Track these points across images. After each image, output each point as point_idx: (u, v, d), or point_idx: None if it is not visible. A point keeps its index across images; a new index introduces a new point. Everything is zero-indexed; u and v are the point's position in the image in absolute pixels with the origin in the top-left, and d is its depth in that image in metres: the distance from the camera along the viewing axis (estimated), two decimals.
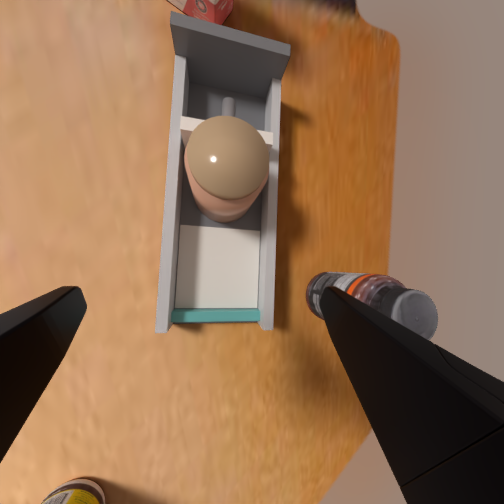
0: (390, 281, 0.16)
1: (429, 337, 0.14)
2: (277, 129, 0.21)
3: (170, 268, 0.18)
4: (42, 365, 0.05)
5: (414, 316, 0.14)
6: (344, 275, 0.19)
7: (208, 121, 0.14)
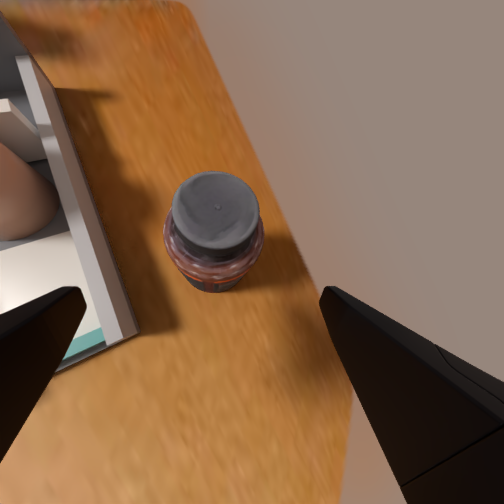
0: None
1: (251, 224, 0.09)
2: (40, 103, 0.17)
3: None
4: (42, 365, 0.05)
5: (210, 205, 0.09)
6: None
7: None
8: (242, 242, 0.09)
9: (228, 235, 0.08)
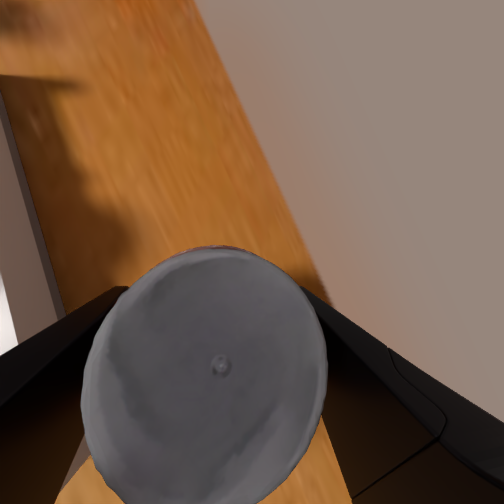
0: None
1: (312, 408, 0.03)
2: None
3: None
4: None
5: (200, 362, 0.03)
6: None
7: None
8: None
9: (252, 467, 0.03)
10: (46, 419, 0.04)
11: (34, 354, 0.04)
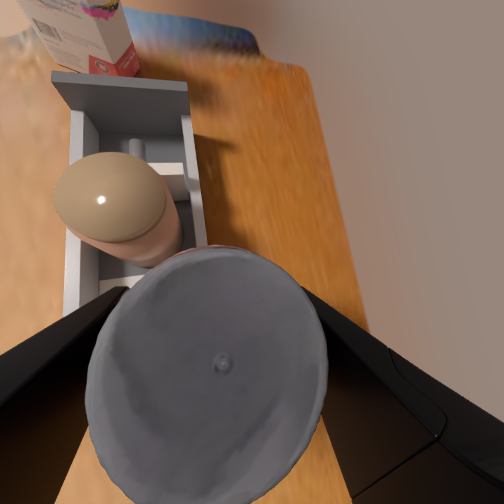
0: None
1: (312, 405, 0.03)
2: (194, 159, 0.20)
3: None
4: None
5: (203, 359, 0.03)
6: None
7: (80, 161, 0.12)
8: None
9: (254, 463, 0.03)
10: (46, 419, 0.04)
11: (34, 354, 0.04)
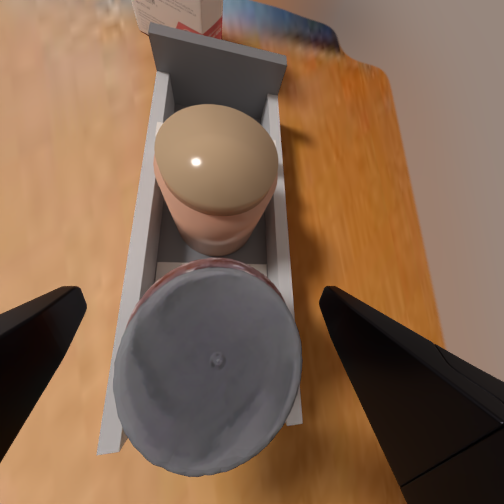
0: (192, 270, 0.07)
1: (288, 393, 0.04)
2: (278, 142, 0.17)
3: None
4: (42, 365, 0.05)
5: (202, 357, 0.04)
6: None
7: (188, 109, 0.10)
8: None
9: (241, 436, 0.04)
10: None
11: None
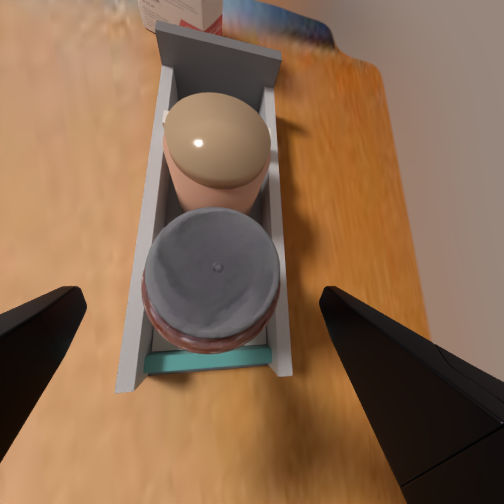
0: None
1: (268, 292, 0.06)
2: (274, 131, 0.19)
3: None
4: (42, 365, 0.05)
5: (206, 264, 0.06)
6: None
7: (192, 96, 0.11)
8: (255, 322, 0.06)
9: (234, 315, 0.05)
10: None
11: None
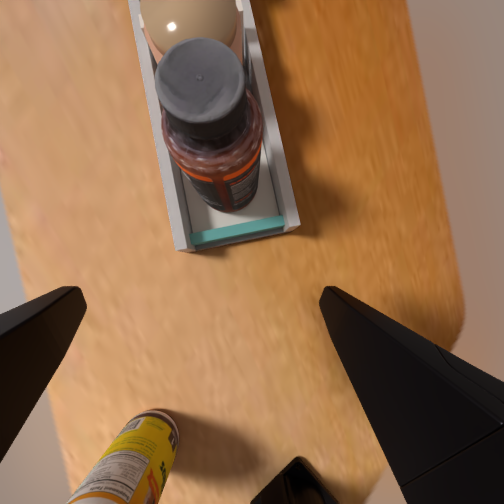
0: None
1: (237, 87, 0.08)
2: (248, 6, 0.18)
3: (173, 183, 0.17)
4: (42, 365, 0.05)
5: (192, 77, 0.08)
6: None
7: None
8: (233, 110, 0.08)
9: (216, 104, 0.08)
10: None
11: None
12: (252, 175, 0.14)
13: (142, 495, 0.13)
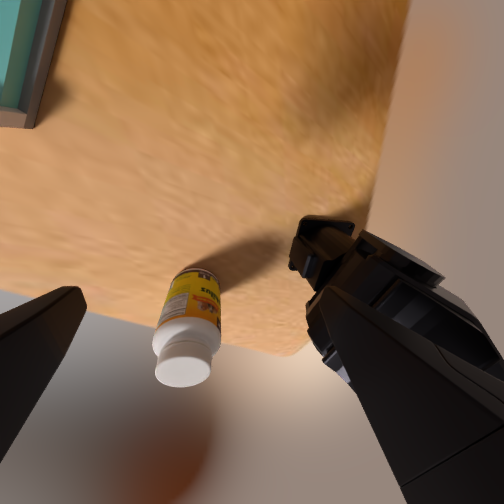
0: None
1: None
2: None
3: None
4: (42, 365, 0.05)
5: None
6: None
7: None
8: None
9: None
10: None
11: None
12: None
13: (194, 306, 0.16)
